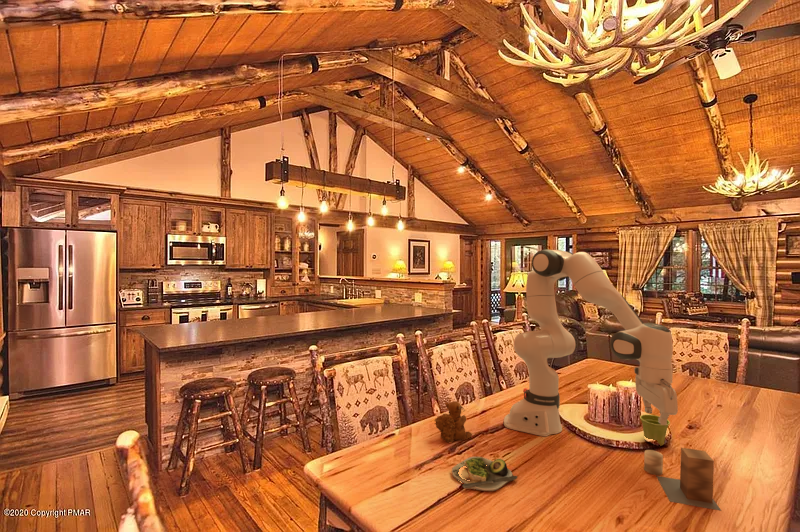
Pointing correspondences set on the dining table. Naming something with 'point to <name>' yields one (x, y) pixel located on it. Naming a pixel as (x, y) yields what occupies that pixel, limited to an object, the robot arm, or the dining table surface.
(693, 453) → the tower top
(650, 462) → the birch round
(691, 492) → the tower base
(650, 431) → the plant pot
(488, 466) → the salad plate
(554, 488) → the dining table surface
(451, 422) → the stuffed squirrel
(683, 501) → the felt mat
